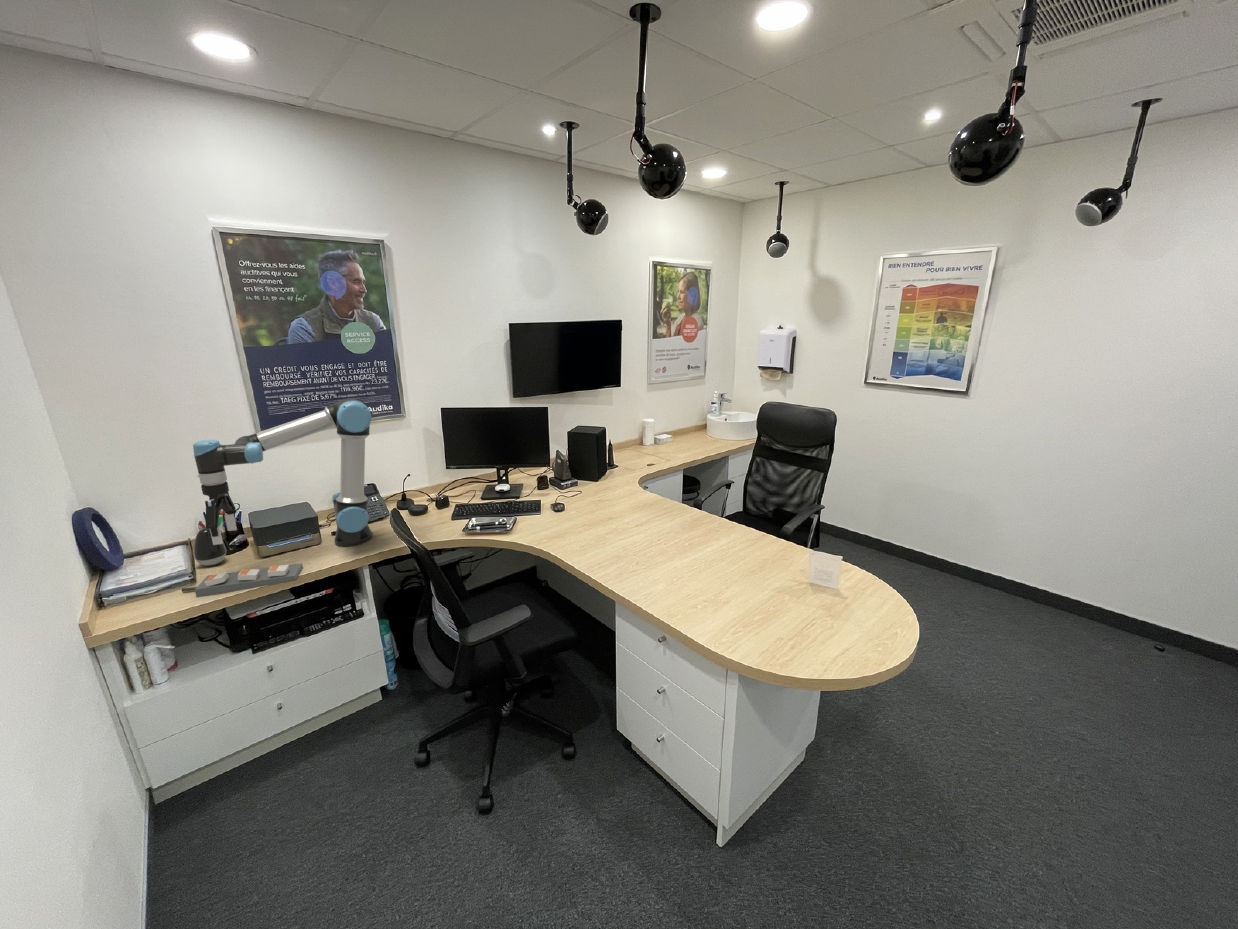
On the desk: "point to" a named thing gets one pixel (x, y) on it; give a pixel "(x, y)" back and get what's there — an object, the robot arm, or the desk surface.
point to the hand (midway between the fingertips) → (225, 537)
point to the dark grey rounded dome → (208, 549)
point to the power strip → (245, 582)
